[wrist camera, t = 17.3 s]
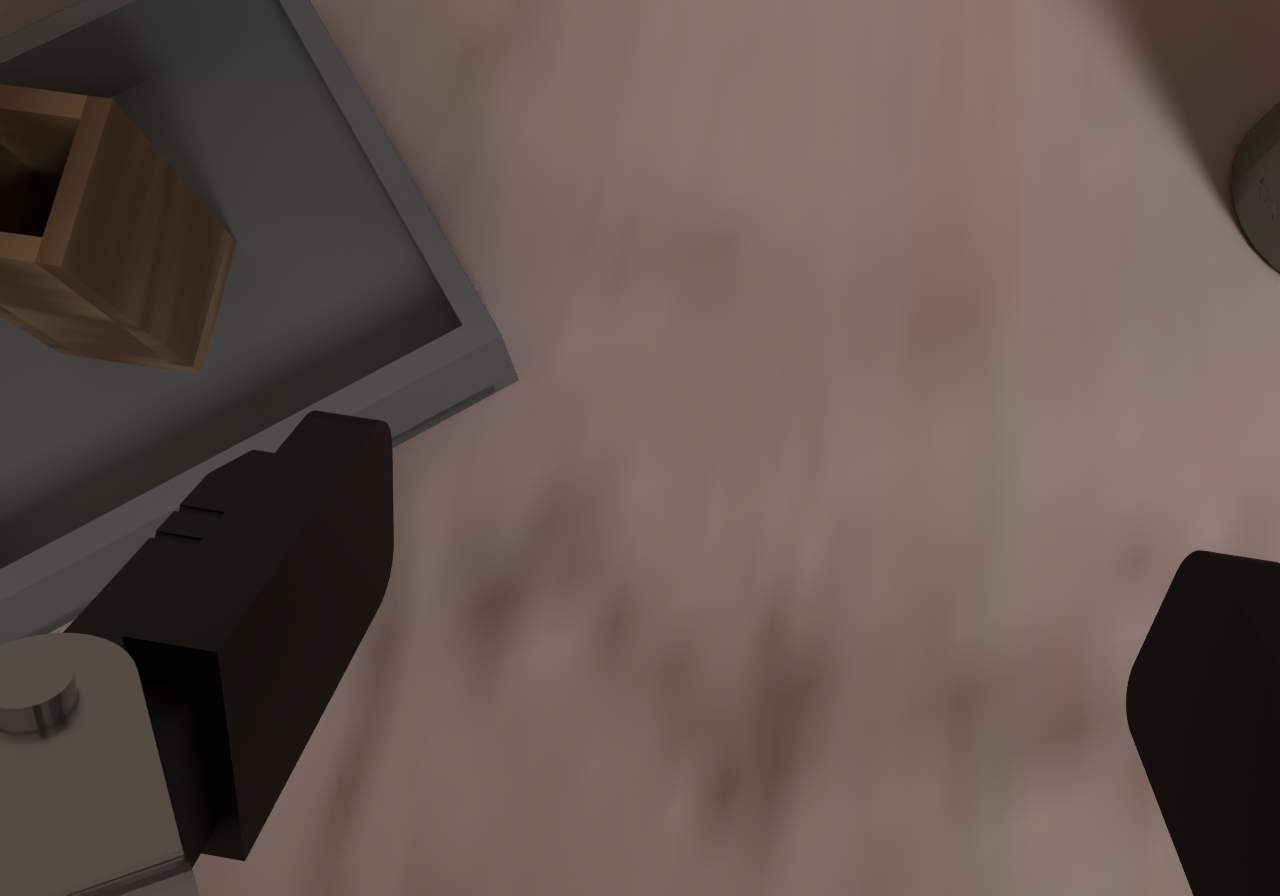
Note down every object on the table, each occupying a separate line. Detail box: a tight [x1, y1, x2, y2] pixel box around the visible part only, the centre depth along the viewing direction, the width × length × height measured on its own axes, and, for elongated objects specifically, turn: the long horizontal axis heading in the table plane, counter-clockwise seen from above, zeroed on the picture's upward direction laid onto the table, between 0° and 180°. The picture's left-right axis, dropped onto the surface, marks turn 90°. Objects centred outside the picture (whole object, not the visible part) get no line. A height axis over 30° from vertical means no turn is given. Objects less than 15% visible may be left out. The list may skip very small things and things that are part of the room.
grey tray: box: [0, 0, 518, 645], centre depth 40 cm, size 22×20×5 cm
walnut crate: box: [0, 84, 237, 374], centre depth 36 cm, size 6×6×10 cm
